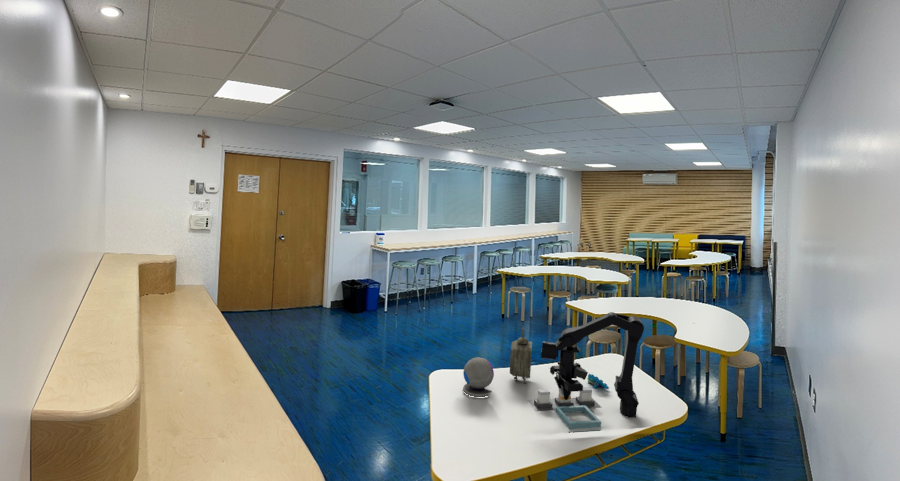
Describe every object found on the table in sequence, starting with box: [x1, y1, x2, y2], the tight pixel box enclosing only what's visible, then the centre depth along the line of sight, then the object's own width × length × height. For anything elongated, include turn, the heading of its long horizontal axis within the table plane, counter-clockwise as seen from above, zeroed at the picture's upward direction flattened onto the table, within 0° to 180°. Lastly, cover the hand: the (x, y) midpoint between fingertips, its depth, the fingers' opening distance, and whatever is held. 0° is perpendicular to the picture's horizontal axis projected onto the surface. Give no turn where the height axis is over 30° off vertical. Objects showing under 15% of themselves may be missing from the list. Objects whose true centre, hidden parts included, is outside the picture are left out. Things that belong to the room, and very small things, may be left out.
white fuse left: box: [536, 388, 551, 404], centre depth 177 cm, size 3×4×6 cm, turn 100°
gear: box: [586, 373, 610, 390], centre depth 195 cm, size 11×6×10 cm
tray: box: [554, 405, 602, 434], centre depth 167 cm, size 12×12×4 cm
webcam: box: [462, 356, 495, 397], centre depth 189 cm, size 13×13×15 cm
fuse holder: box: [527, 396, 603, 412], centre depth 179 cm, size 9×28×3 cm, turn 100°
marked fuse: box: [557, 388, 572, 403], centre depth 178 cm, size 3×4×6 cm, turn 100°
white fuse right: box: [578, 386, 593, 401], centre depth 180 cm, size 3×4×6 cm, turn 100°
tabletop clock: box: [509, 326, 533, 385], centre depth 201 cm, size 14×9×25 cm, turn 168°
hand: (564, 398), depth 178 cm, fingers closed on marked fuse, 3 cm apart
